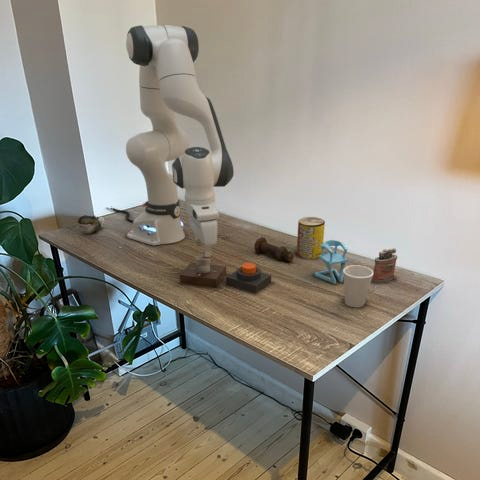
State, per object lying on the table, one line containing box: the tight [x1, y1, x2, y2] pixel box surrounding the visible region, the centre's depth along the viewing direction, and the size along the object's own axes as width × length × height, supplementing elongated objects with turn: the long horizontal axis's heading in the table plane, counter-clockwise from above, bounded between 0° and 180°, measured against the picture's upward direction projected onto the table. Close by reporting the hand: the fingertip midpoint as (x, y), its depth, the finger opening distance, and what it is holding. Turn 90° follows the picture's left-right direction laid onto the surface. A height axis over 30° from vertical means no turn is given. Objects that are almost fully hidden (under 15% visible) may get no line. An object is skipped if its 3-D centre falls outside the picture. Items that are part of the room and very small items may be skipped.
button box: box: [225, 266, 272, 294], centre depth 154 cm, size 11×9×4 cm
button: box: [241, 262, 257, 274], centre depth 152 cm, size 4×4×2 cm
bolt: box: [253, 237, 295, 262], centre depth 172 cm, size 6×5×15 cm
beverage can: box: [296, 216, 326, 260], centre depth 172 cm, size 9×9×12 cm
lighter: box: [371, 247, 398, 284], centre depth 154 cm, size 8×3×10 cm, turn 117°
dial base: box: [179, 262, 227, 289], centre depth 157 cm, size 12×10×3 cm
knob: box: [195, 254, 211, 273], centre depth 155 cm, size 4×4×5 cm
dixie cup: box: [343, 264, 374, 308], centre depth 141 cm, size 8×8×10 cm
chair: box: [314, 239, 349, 285], centre depth 155 cm, size 8×8×12 cm
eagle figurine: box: [77, 214, 105, 235], centre depth 196 cm, size 8×7×9 cm
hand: (203, 250), depth 153 cm, fingers open, 8 cm apart
